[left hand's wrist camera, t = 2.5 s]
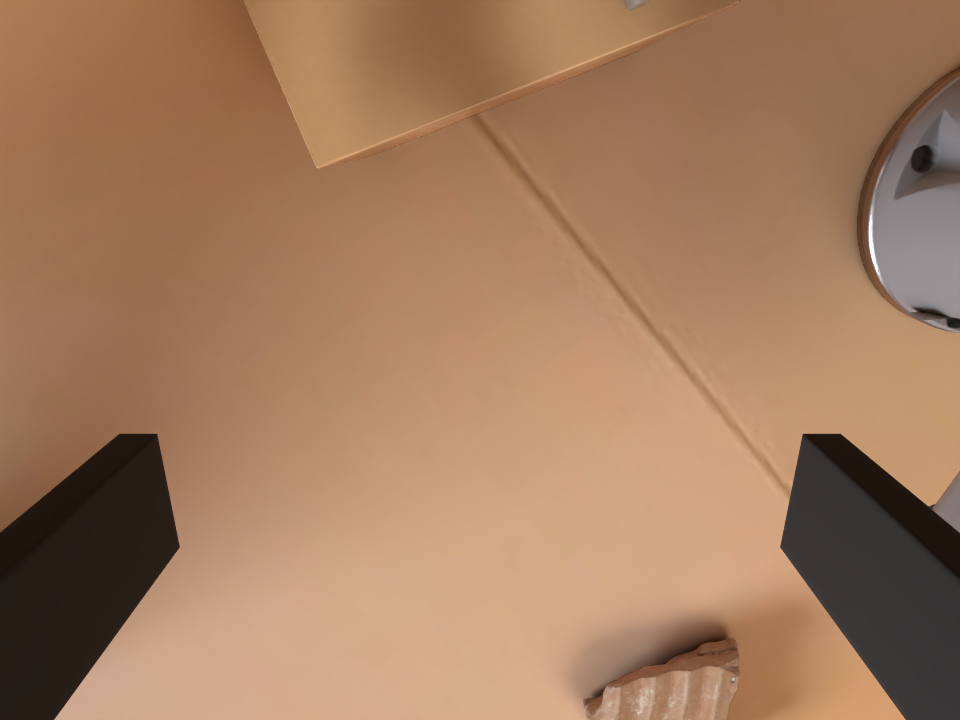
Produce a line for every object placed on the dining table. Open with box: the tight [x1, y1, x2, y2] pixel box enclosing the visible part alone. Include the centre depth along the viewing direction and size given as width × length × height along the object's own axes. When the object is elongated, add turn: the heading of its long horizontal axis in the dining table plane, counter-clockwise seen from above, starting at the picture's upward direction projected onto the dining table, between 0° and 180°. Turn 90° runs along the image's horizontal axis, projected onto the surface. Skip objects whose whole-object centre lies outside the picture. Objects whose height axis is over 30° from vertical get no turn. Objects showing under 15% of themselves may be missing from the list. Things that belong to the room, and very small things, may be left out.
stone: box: [583, 638, 739, 720], centre depth 47 cm, size 13×12×3 cm
